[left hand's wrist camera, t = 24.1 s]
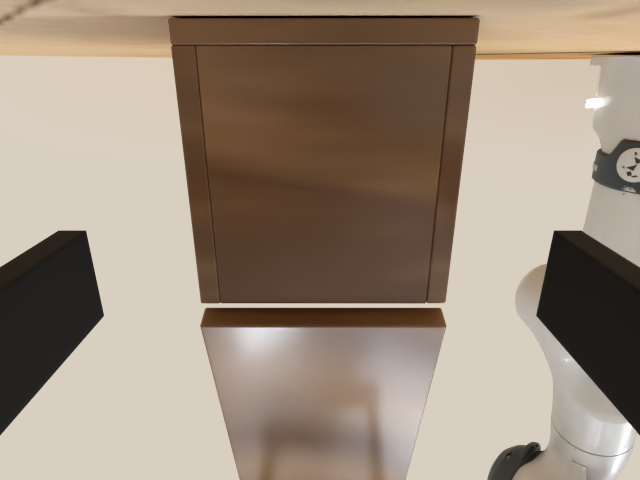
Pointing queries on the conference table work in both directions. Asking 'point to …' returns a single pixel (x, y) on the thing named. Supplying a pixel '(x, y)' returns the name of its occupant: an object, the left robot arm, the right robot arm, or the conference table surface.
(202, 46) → the chest
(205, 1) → the conference table surface
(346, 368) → the lid
